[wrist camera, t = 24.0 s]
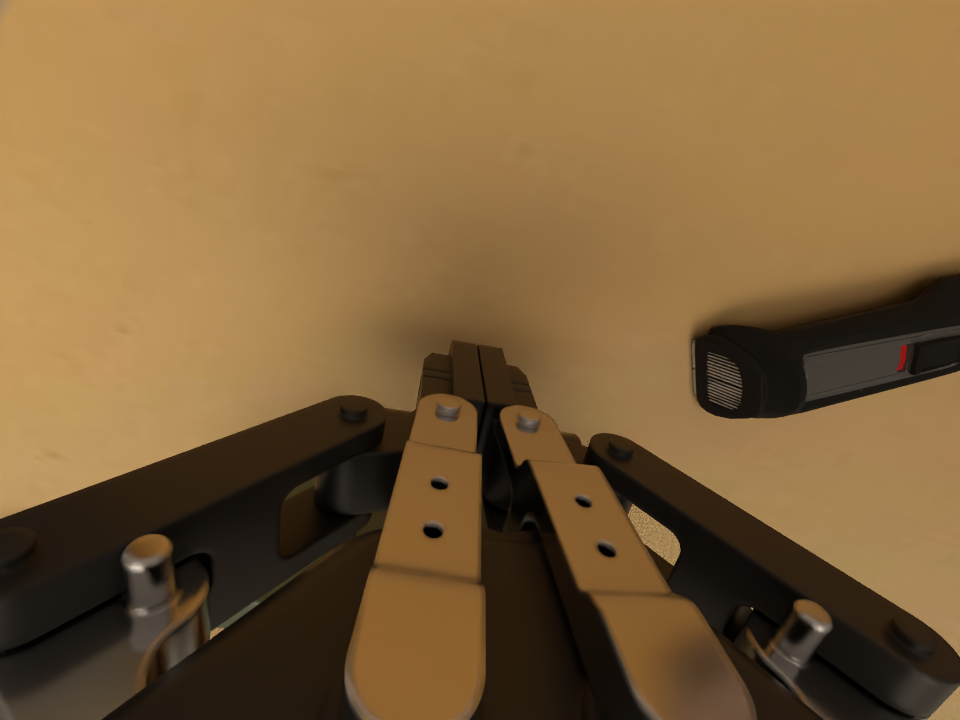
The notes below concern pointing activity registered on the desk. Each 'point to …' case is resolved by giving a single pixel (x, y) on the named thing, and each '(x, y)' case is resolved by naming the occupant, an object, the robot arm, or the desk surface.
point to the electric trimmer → (828, 357)
